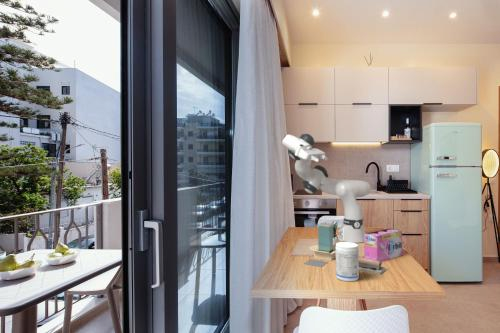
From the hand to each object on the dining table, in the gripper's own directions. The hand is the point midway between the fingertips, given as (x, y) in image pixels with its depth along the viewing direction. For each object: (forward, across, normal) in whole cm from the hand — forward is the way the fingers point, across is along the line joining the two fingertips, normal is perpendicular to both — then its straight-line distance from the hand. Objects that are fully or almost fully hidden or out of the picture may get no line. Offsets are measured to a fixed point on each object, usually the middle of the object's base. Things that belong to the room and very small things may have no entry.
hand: (322, 160), depth 186 cm
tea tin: (+32, +17, -40) cm, 54 cm away
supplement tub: (+51, +38, -29) cm, 70 cm away
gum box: (+52, -4, -32) cm, 61 cm away
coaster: (+33, +30, -39) cm, 59 cm away
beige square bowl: (+32, +17, -41) cm, 54 cm away
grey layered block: (+52, +20, -31) cm, 63 cm away
